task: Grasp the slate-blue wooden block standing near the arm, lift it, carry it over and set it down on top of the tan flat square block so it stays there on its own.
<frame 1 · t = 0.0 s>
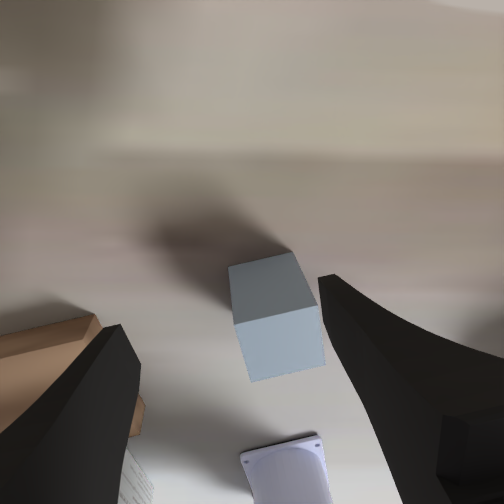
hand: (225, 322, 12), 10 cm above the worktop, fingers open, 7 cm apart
tan flat square block: (60, 374, 26), on the worktop
slate block: (266, 285, 24), on the worktop
supplement box: (91, 471, 32), on the worktop
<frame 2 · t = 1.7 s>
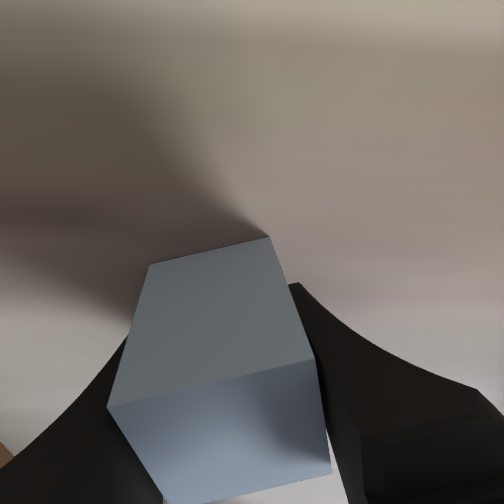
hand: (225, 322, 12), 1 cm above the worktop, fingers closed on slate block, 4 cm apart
slate block: (224, 298, 13), on the worktop, touching gripper
when the fingers open (6 cm above the worktop, at t = 5.1 s): slate block drops 2 cm, point 2 cm above the worktop.
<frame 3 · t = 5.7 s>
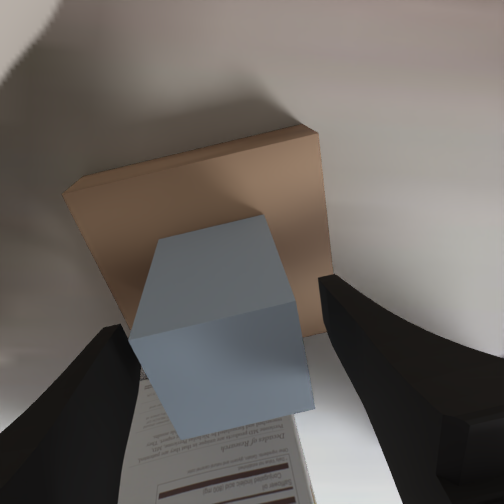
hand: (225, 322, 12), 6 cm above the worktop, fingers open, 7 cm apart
tan flat square block: (220, 242, 18), on the worktop
slate block: (224, 271, 15), point 2 cm above the worktop
supplement box: (223, 406, 23), on the worktop
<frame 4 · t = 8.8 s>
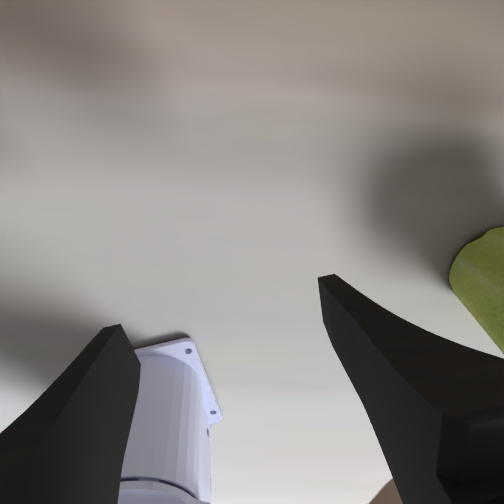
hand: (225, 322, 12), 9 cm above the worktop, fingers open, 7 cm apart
plant pot: (487, 262, 25), on the worktop
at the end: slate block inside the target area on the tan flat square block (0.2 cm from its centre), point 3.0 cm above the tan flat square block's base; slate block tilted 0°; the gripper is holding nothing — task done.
